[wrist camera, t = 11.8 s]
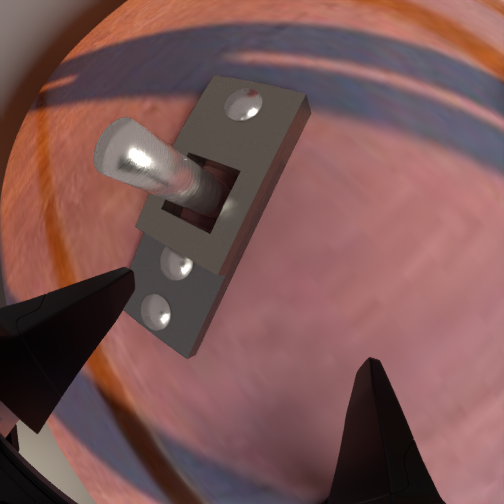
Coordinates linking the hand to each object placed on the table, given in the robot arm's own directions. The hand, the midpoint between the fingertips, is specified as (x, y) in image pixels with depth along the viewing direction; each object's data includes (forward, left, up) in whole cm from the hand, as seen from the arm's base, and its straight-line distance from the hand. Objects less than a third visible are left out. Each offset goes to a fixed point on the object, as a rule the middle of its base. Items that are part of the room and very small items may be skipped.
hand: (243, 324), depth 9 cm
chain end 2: (0, +10, -13) cm, 16 cm away
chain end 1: (+7, +10, -13) cm, 18 cm away
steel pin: (+4, +10, -13) cm, 17 cm away
